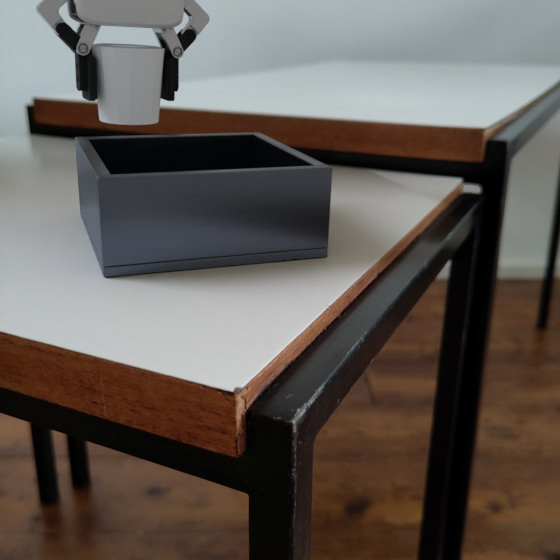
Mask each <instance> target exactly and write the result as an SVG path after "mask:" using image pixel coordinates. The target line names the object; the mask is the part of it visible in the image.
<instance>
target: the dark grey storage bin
mask: <svg viewBox="0 0 560 560" xmlns="http://www.w3.org/2000/svg"><path fill="white" fill-rule="evenodd" d="M74 144H75V159H76V173H77V185H78V187H77V188H78V199H79V213H80V217H81V220H82V222H83V225H84V227H85V230H86V233H87V235H88V238H89V241H90V243H91V246H92V250H93V252H94V255H95V257H96V260H97V263H98V265H99V268H100V271H101V273H102V277H103V278H110V277H120V276H121V277H122V276H131V275H143V274H154V273H164V272H174V271H176V272H177V271H185V270H197V269H209V268H219V267H221V268H222V267H230V266H241V265H253V264H262V263H264V264H265V263H273V262H283V260H286V261H294V260H293V259H297V260H306V259H305V258H307V259H317V257H318V258H327V257H328V255H329V254H328V252H329V248H328V247H329V233H330V220H331V219H330V217H331V203H332V202H331V201H332V183H333V181H332V180H333V167H332V166H330V165H327V164H325V163H324V162H322V161H319V160H318V159H315V158H314V157H312V156H309V155H307V154H305V153H303V152H301V151H299V150H297V149H294V148H292V147H290V146H288V145H286V144H284V143H282V142H280V141H278V140H276V139H274V138H272V137H271V136H268V135H265V134H263V133H261V132H259V131H255V132H220V133H219V132H217V133H180V134H177V133H176V134H174V133H173V134H142V135H139V134H138V135H136V134H135V135H102V136H97V135H95V136H75V137H74ZM313 257H315V258H313Z"/></svg>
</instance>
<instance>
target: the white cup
mask: <svg viewBox="0 0 560 560" xmlns="http://www.w3.org/2000/svg"><path fill="white" fill-rule="evenodd" d="M91 49H92V56H94V57H96V67H97V96H98V98H97V100H96V105H97V112H98V120H99V121H100V122H101V123H104V124H111V125H121V126H123V125H124V126H146V125H154V124H155V125H156V124H158V123H159V122H160V121H159V120H160V109H161V86H162V75H163V63H164V51H165V48H161V47H160V46H157V45H148V44H133V43H132V44H131V43H112V42H111V43H108V42H107V43H104V42H101V43H100V42H99V43H93V45H92V47H91Z"/></svg>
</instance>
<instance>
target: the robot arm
mask: <svg viewBox="0 0 560 560" xmlns="http://www.w3.org/2000/svg"><path fill="white" fill-rule="evenodd" d="M64 5H66V10H67V11H66V12H67V15H68V16H69V18H70V19H71V20H73V21H74V22H77V23H78V25H77V28H76V30H74V29H73V28H72V26H70V25H69V24H68V23H67V22H66V21H65V20H64V19H63V17H62V15H61V14H60V9H61V8H62V7H63V6H64ZM35 10H36V12H37V14H38V15H39V17H41V19H42V20H43V21H44V22H45V23H46V24H47V26H49V28H50V29H51V30H52V31H53V33H54V34H55V35H56V36H57V37H58V39H60V40H61V41H62V42H63V43H64V45H66V46H67V48H69V49H70V51H71V52H72V53H73V54H74V66H75V67H74V69H75V87H76V90H77V91H78V92H81V95H82V99H84V100H86V101H88V102H96V101H97V98H98V96H97V67H96V57H94V56H92V49H91V47H92V45H93V44H95V41H96V38H97V36H98V34H99V32H100V29H101V27H119V28H121V27H122V28H141V29H152V32H153V35H154V36H155V38H156V41H157V43H158V45H159V47H161V48H165V51H164V63H163V75H162V86H161V98H160V100H165V101H167V102H174V101H175V99H176V98H175V97H176V94H175V93H176V92H178V91H179V85H180V84H179V83H180V80H179V79H180V73H179V72H180V68H179V67H180V59H181V58H182V57H183V56H184V54H185V53H184V52H186V51H187V49H189V47H190V46H191V45H192V44H193V43H194V42H195V41H196V39H197V37H198V36H199V35H200V34H201V32H202V31H203V30H204V29H205V27H206V26H207V25H208V24H209V23H210V16H209V13H207V12H206V11H205V10H204V9H203V8H202V6H201V5H200V4H199V3H198V2H197V1H196V0H41V1H40V2H38V3H37V5H36V8H35ZM184 14H186V16H187V17H188V21H187V22H186V24H185V26H184V27H183V28H181V29H180V30H179V31H178V32H177V31H176V30H175V28H176V27H178V26H180V25H181V24H182V22H183V19H184Z"/></svg>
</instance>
